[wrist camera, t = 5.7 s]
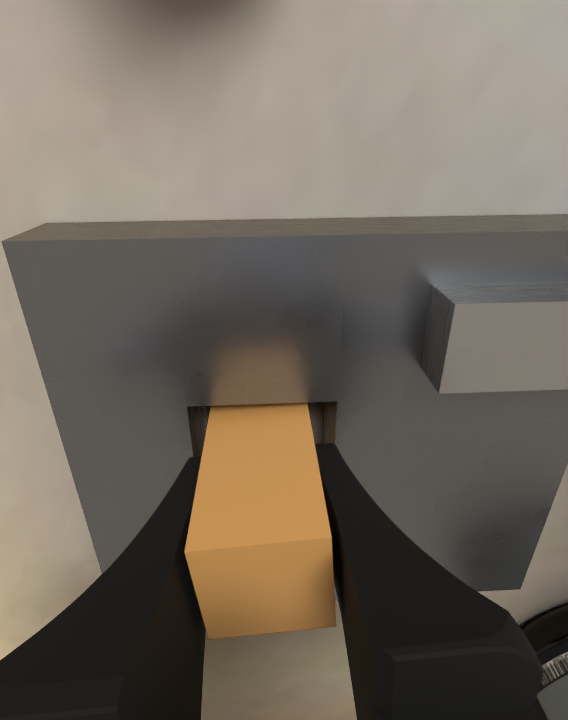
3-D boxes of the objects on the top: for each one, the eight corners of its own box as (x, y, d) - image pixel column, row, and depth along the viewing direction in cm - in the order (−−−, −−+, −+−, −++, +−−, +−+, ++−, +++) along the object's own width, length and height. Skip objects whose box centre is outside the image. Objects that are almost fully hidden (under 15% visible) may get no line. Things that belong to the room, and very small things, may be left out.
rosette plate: (590, 214, 13) (710, 242, 10) (491, 539, 19) (541, 626, 16) (45, 223, 12) (-37, 256, 9) (129, 557, 19) (101, 652, 15)
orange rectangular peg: (301, 371, 15) (331, 536, 9) (307, 441, 16) (335, 626, 10) (215, 380, 15) (184, 552, 9) (227, 448, 16) (208, 639, 10)
